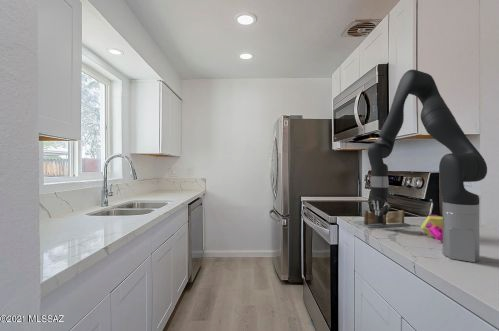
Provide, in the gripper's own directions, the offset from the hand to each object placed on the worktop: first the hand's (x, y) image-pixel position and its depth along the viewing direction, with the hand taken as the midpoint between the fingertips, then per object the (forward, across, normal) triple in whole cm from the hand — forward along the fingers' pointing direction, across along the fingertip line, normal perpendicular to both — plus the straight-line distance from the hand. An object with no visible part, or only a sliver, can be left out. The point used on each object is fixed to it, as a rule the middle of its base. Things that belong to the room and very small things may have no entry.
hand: (379, 223), depth 121 cm
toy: (+3, -19, -12) cm, 22 cm away
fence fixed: (+3, +6, -12) cm, 14 cm away
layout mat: (+3, +9, -8) cm, 12 cm away
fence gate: (+2, +6, -1) cm, 6 cm away
